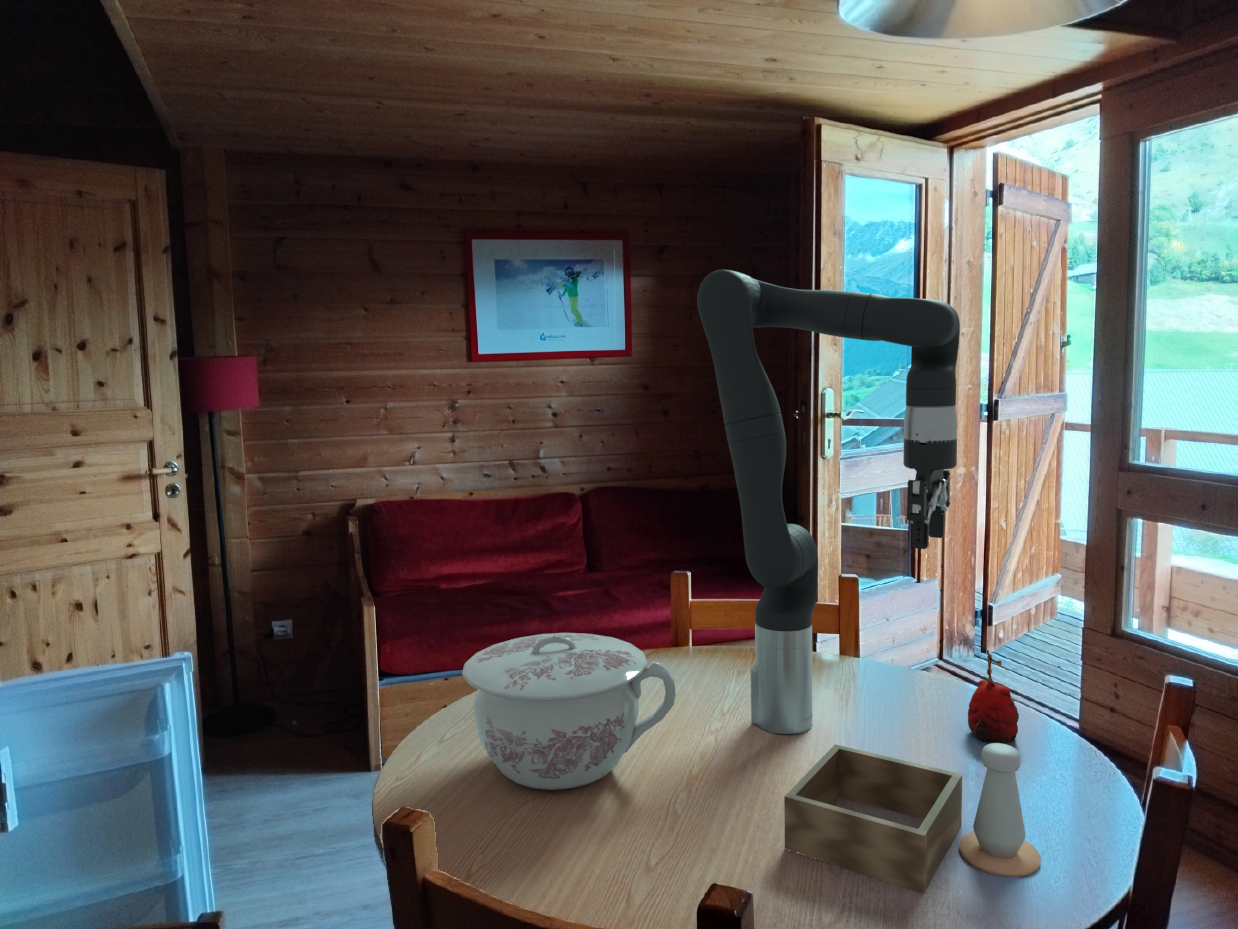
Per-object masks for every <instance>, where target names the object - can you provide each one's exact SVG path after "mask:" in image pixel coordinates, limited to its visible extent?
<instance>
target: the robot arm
mask: <svg viewBox="0 0 1238 929" xmlns="http://www.w3.org/2000/svg"><path fill="white" fill-rule="evenodd" d="M696 301H697V302H696V303H697V305H696V306H697V311H698V313H699V317H700V321H701V325H702V326H703V327H702V328H703V330H704V332H705V337H706V340H707V342H708V347H709V350H710V354H711V357H712V361H713V365H714V370H715V372H714V373H715V378H716V383H717V391H718V395H719V400H720V405H721V411H722V418H723V424H724V430H725V433H726V434H725V435H726V439H727V442H728V443H727V444H728V449H729V451H730V456H731V457H730V458H731V460H732V466H733V472H734V477H735V482H736V483H735V484H736V488H737V492H738V500H739V505H740V511H741V512H740V513H741V521H742V522H741V523H742V524H741V525H742V533H743V534H742V535H743V536H742V537H743V547H744V553H745V561H746V566H747V567H748V570H749V572H750V574H751V575H752V578H754V580H756V582H758V584H759V585H761V586H763V587H764V588H763V592H762V595H761V596H760V598H759V601H758V602H757V603H756V605H755V608H754V634H755V635H754V641H755V642H754V644H755V645H754V646H755V647H754V649H755V654H754V655H755V664H754V666H752V667H751V668H750V720H751V721H750V722H751V724H754V725H756V726H758V727H759V728H760V729H762V730H764V731H766V732H770V733H773V734H778V735H779V734H781V735H794V734H796V735H797V734H800V733H803V732H806V731H808V730H810V729H811V727H812V726H813V613H814V610H815V609H816V608H815V607H816V605H817V604H816V603H817V598H818V597H817V596H818V595H817V594H818V568H819V564H818V563H819V559H818V558H819V556H818V548H817V544H816V542H815V540H814V537H813V536H812V534H811V533H810V532H809V531H808V530H807V529H806V528H804V527H803V526H801V525H799V524H796V523H787V519H786V515H785V510H784V504H783V481H784V475H785V474H784V473H785V467H786V460H787V459H786V458H787V437H786V432H785V426H784V421H783V416H782V411H781V408H780V404H779V401H778V398H777V395H776V392H775V390H774V387H773V385H772V384H771V381H770V379H769V377H768V375H767V373H766V371H765V369H764V367H763V364H762V362H761V360H760V357H759V355H758V351H757V346H756V344H755V336H754V329H755V328H769V327H770V328H789V329H797V330H803V331H808V332H813V333H817V334H822V335H827V336H832V337H840V338H844V339H845V338H846V339H854V340H861V341H872V342H886V343H890V344H891V343H892V344H895V345H901V346H905V347H911V352H910V355H911V356H910V357H911V358H910V363H911V364H910V368H909V370H908V372H907V375H906V382H905V384H906V385H905V388H906V389H905V412H904V418H903V420H904V421H903V466H904V467H905V468H907V469H910V470H915V479H908V481H907V493H906V494H907V496H906V498H907V499H906V520H907V522H908V521H909V522H910V523H911V524H912V529H911V530H912V534H911V535H912V538H911V539H912V540H911V542H912V543H911V544H912V547H913V549H920V550H926V549H928V548H929V547H930V538H933V539H934V538H935V539H936V538H937V539H942V538H943V537H945V517H946V516H945V514H946V513H947V511H948V508H950V505H951V502H950V501H951V500H950V499H951V498H950V496H951V492H950V491H951V490H950V489H951V487H950V486H951V485H950V484H951V483H950V482H951V480H950V479H951V471H950V470H952V469H954V468H956V467H957V462H958V461H957V460H958V455H957V454H958V415H957V406H956V405H957V378H956V376H957V375H956V374H957V372H956V371H957V370H956V369H957V368H956V367H957V361H958V353H959V348H960V335H961V334H960V331H961V330H960V329H961V328H960V327H961V326H960V325H961V324H960V317H959V315H958V312H957V311H956V309H955V307H953V306H952V305H951V304H949V303H947V302H945V301H941V300H937V299H929V298H915V297H914V298H911V297H891V296H887V295H882V294H878V293H868V292H862V291H861V292H860V291H859V292H858V291H849V290H839V289H838V290H837V289H835V290H833V289H832V290H831V289H829V290H828V289H797V288H791V287H783V286H780V285H776V284H772V283H769V282H765V281H761V280H758V279H755V278H753V277H751V276H750V275H747V274H745V273H743V272H739V271H734V270H730V269H716V270H715V271H712V272H710V273H708V274H707V276H705V277H704V278H703V279H702V281H701V283H700V285H699V288H698V291H697V300H696ZM753 328H754V329H753ZM919 511H920V512H919Z"/></svg>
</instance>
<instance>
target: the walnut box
mask: <svg viewBox="0 0 1238 929" xmlns="http://www.w3.org/2000/svg"><path fill="white" fill-rule="evenodd" d="M783 798H784V803H783V804H784V807H783V808H784V809H783V810H784V811H783V812H784V813H783V814H784V849H785V848H786V849H788V850H791V851H794V852H799V853H801V854H804V855H806V856H805V857H807V856H809V857H808V858H810V857H813V858H816V859H819V860H821V861H820V862H823V861H824V862H823V863H826V862H827V863H826V864H829V863H830V864H829V865H832V866H836V867H838V868H841V869H844V870H845V869H846V870H849V871H851V872H854V873H857V872H858V874H860V875H861V874H862V875H864V876H868V877H870V878H873V879H876V880H880V881H883V882H886V883H889V884H891V885H895V886H899V887H902V888H905V889H909V890H911V891H914V892H918V893H921V894H925V893H926V891H927V889H928V887H929V885H930V883H931V882H932V881H933V878H934V876H935V874H936V873H937V871H938V869H939V867H940V865H941V863H942V861H943V860H944V858H945V856H946V855H947V852H948V851H949V849H950V847H951V845H952V844H953V842H954V840H955V838H956V836H957V835H958V833H959V831H960V829H961V827H962V816H963V815H962V814H963V813H962V812H963V810H962V809H963V805H962V804H963V774H962V773H958V772H954V771H950V770H946V769H941V768H938V767H937V768H936V767H932V766H929V765H925V764H920V763H916V762H912V761H907V760H904V759H898V758H894V757H890V756H886V755H882V754H877V753H873V752H869V751H864V750H862V749H861V750H860V749H857V748H852V747H850V746H849V747H848V746H844V745H840V744H837V743H835V744H833V745H832V747H831V748H830V749H828V751H827V752H826V753H825V754H824V755H823V756H821V758H820V759H819V760H818V761H817V762H816V763H815V764H814V765H813V767H812V768H810V769H809V770H808V771H807V773H805V774H804V776H803V777H802V778H801V779H799V781H798V782H797V783H795V784H794V786H793V787H792V788H791V789H790V790H789V791H788V792H787V793H786V794H784V797H783ZM839 798H843V799H847V800H850V801H854V802H858V803H861V804H866V805H869V806H873V807H876V808H879V809H882V810H883V809H884V810H887V811H891V812H894V813H899V814H901V815H906V816H910V817H912V818H913V817H914V818H917V819H921V820H923V821H922V823H921V825H920V826H919V827H918V828H916V827H911V826H909V825H904V824H902V823H897V822H893V821H891V820H887V819H883V818H881V817H880V818H879V817H876V816H873V815H869V814H864V813H860V812H858V811H854V810H851V809H847V808H843V807H840V806H836V805H834V804H835V802H836V801H837V800H838V799H839ZM788 850H787V851H788ZM791 851H790V852H791ZM794 852H793V853H794ZM801 854H800V855H801ZM804 855H803V856H804ZM813 858H812V859H813ZM816 859H815V860H816ZM819 860H818V861H819Z"/></svg>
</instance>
